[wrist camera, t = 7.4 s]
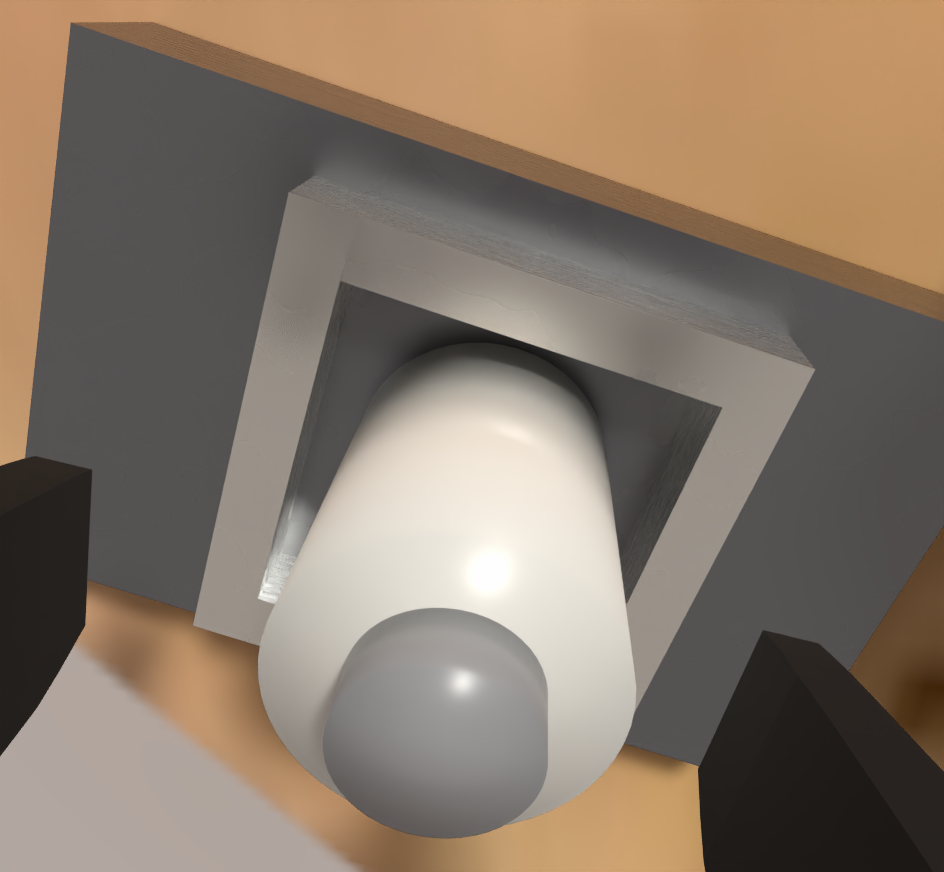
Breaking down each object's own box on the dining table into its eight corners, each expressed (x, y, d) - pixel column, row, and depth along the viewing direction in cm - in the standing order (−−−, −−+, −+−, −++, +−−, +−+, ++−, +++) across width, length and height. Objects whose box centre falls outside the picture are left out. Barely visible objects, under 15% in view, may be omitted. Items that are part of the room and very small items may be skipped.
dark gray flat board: (971, 304, 17) (1105, 394, 13) (743, 689, 21) (789, 849, 17) (152, 22, 16) (15, 22, 12) (86, 485, 20) (-31, 602, 16)
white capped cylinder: (617, 349, 15) (668, 599, 8) (594, 572, 17) (622, 914, 10) (353, 335, 15) (209, 569, 9) (360, 557, 17) (247, 882, 10)
